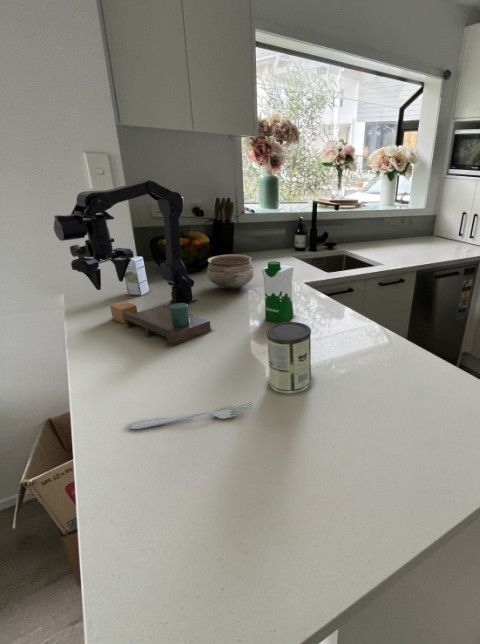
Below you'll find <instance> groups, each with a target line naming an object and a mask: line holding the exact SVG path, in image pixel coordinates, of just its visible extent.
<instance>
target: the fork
mask: <svg viewBox="0 0 480 644" xmlns="http://www.w3.org/2000/svg"><path fill="white" fill-rule="evenodd" d="M253 406H254V405H253V401H249V402H246V403H243V404H240V405H237V406H235V407H230V408H225V409H222V410H218V411H203V412H197V413H193V414H187V415H182V416H176V417H175V416H174V417H169V418H168V417H167V418H162V419H156V420H148V421H141V422H137V423H134V424H132V425H131V426H130V427H129V428H130V429H131V430H142V429H147V428H152V427H156V426H160V425H165V424H170V423H174V422H178V421H181V420H182V421H183V420H187V419H190V418H194V417H199V416H203V415H208V416H213V417H215V418H218V419H221V420H225V419H229V418H232V417H235V416H238V415H240V414H243V413H246V412H247V411H249V410H252V409H253Z"/></svg>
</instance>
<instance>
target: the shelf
mask: <svg viewBox="0 0 480 644" xmlns="http://www.w3.org/2000/svg"><path fill="white" fill-rule="evenodd" d="M170 306H171V305H169V304H166V303H165V304H161V305H158V306H155V307H151V308H148V309H145V310H141V311H137V313H134V314H132V313H130V312H128V311H125V312H124V316H125V320H126V323H125V325H126V327H127V328H130V327H133V326H139V327H142V328H145V329H144V330H145V333H146V336H147V337H152V336H154V335H157V334H158V335H160V336H162V337H165V338H167V343H168V346H169V347H174V346H176V345H180V344H182V343H184V342H187V341H189V340H192V339H194V338H196V337H199V336H202V335H204V334H206V333H209V332H211V331H212V326H211V321H210V320H209V319H206V318H204V317H200V316H198V315H195V314H193V313H190V312H189V318H190V324H189V325H188V326H185V327H174V326H173V325H172V319H171V312H170Z"/></svg>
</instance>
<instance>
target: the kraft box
mask: <svg viewBox="0 0 480 644" xmlns="http://www.w3.org/2000/svg"><path fill="white" fill-rule="evenodd" d="M109 307H110V312H111V317H112V320H114V321H117V322H118V323H121V324H123V325H126V320H125V316H124V312H125V311H128V312H130V313H132V314H134V313H137V312H138V308H137V305H136V304H134V303H131V302H128V301H126V300H123V301H120V302H115V303H112V304H110V305H109Z"/></svg>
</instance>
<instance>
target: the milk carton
mask: <svg viewBox="0 0 480 644" xmlns="http://www.w3.org/2000/svg"><path fill="white" fill-rule="evenodd" d="M261 274H262V278H263V291H264V312H265V314H264V315H265V316H264V317H265V318H264V319H265V321H269V322H275V323H277V324H278V323H283V322H288V321H289V320H291V319H292V318H293V317H294V307H293V305H294V304H293V274H294V266H292V265H291V266H290V265H286V264H285V265H284V264H281V262H280V261H277V260H275V261H274V260H273V261H272V260H271V261H267V266H265V267H262V268H261Z"/></svg>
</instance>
